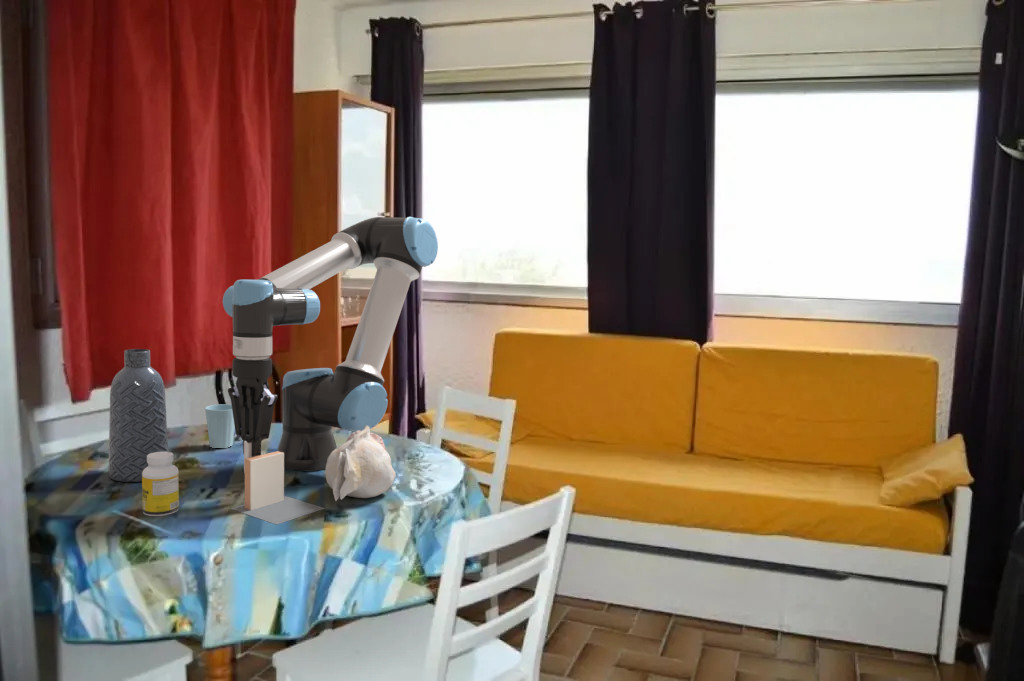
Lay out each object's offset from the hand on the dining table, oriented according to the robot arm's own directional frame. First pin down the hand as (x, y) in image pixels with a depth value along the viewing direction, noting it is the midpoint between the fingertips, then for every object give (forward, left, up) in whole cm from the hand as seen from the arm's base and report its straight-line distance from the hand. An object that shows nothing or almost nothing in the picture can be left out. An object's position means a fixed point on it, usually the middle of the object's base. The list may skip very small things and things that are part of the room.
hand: (251, 471), depth 158 cm
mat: (+8, 0, -7) cm, 10 cm away
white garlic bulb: (+12, +16, -7) cm, 22 cm away
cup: (-42, +23, -7) cm, 49 cm away
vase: (-34, -4, -7) cm, 35 cm away
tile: (+4, 0, -6) cm, 7 cm away
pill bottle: (-8, -15, -7) cm, 18 cm away
